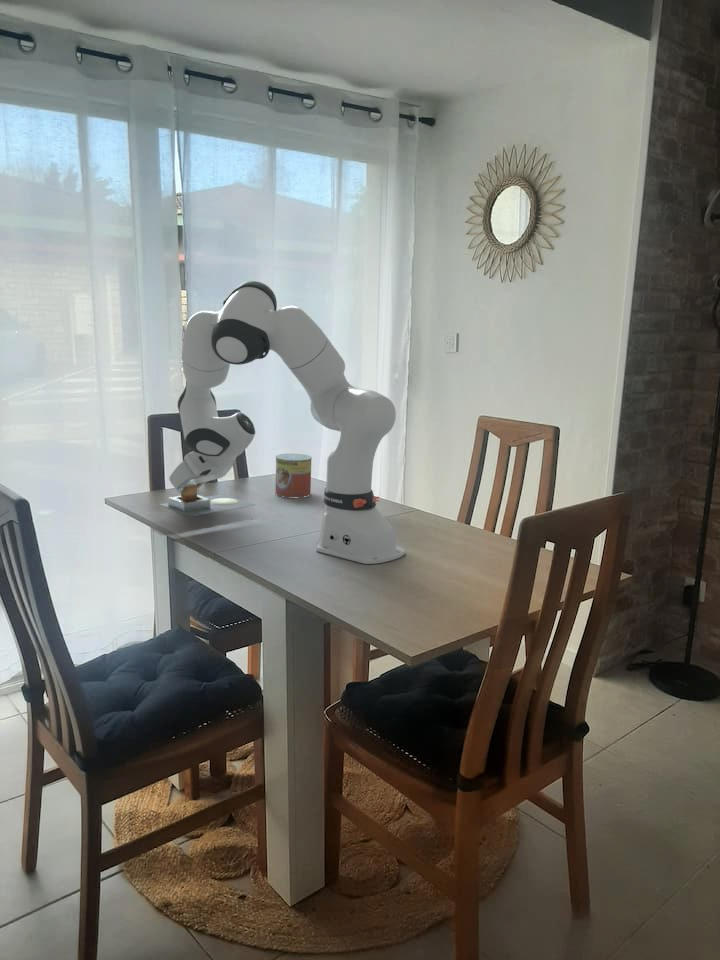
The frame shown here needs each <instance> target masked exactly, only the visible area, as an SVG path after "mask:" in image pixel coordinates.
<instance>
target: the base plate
mask: <svg viewBox="0 0 720 960" xmlns="http://www.w3.org/2000/svg"><path fill="white" fill-rule="evenodd" d="M204 497H205V498H208V499H210V508H205V509H199V510H193V511H187V512H183V511H180V510H178V509H175V508H173V507H170V506H168V502H166V503H160V504H159V505H160V506H161V507H165V508H167V509H169V510H172V511H174V512H177V513H179V514H182V515H184V516H187V517H190V518H191V517H196V516H201V515H206V514H213V513H218V512H223V511H231V510H235V509H241V508H246V507H251V506H253V507H254V506H256V504H254V503H253V502H248V501H246V500H243V499H239V498H237V497H234V496H231V495H228V494H226V493H222V494H217V495H216V494H215V495H209V496H208V495H207V496H204Z"/></svg>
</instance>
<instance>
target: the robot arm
mask: <svg viewBox="0 0 720 960" xmlns="http://www.w3.org/2000/svg"><path fill="white" fill-rule="evenodd" d="M222 304H223V305H222V306H223V307H222V308H221V309H220V310H219V311H215V312H214V311H210V310H201V311H198V312H196V313H195V314H193V315H192V316H190V318H189V319H188V320H187V323H186V326H185V329H184V330H185V331H184V335H183V339H182V351H181V358H182V359H181V363H182V371H183V375H184V378H185V381H186V382H185V387H184V390H183V392H182V393H181V395H180V396H179V398H178V400H177V408H178V409H177V410H178V413H179V417H180V421H181V427H182V433H183V438H184V443H185V446H186V447H187V448H188V449H189V450H190V451H191V452H188V453H187V454H185V456H184V457H183V459H184V460H183V461H182V462H180V463H179V464H178V465H177V466H176V467H175V469H174V470H173V471H172V473H171V474H170V476H169V481H170V484H171V485H172V486H173V487H174V489H175V490H176V492H177V493H179V494H181V492H184V490H185V489H186V488H185V487H186V486H190V485H195V484H197V489H200V488H201V487H202V486H203V485H205V484H206V483H208V482H210V481H214V480H218V479H223V477H225V476H226V475H227V474H228V473H229V472H230V471H231V470H232V468H233V466H234V462H235V460H236V459H237V457H238V456H241V454H242V453H244V451H245V450H246V449H248V447H249V446H250V444H251V443H252V441H253V440H254V438H255V435H256V429H255V426H254V423H253V422H252V420H251V419H250V418H249V416H247V414H245V413H244V412H243V413H242V412H239V411H237V412H236V413H234V414H232V415H230V416H222V417H219V414H218V410H217V409H218V408H217V402H216V397H215V395H214V393H213V391H212V390H211V389H212V388H216V387H219V386H220V385H222V384H224V382H225V381H226V379H227V376H228V375H229V372H230V371H229V370H230V364H231V365H236V366H237V365H240V366H241V365H245V364H249V363H251V362H254V361H255V360H261V359H265V358H266V357H267V356H268V354H269V352H270V351H273V352H274V353H276V354H277V355H278V356H279V357H280V359H281V360H282V361H283V363H284V364H285V365H286V366H287V368H288V369H289V370H290V371H291V373H292V374H293V375H294V377H295V378H296V379H297V381H298V382H299V383H300V385H301V387H303V388H304V390H305V392H306V393H307V396H308V397H309V399H310V411H311V413H310V414H311V415H312V418H313V419H314V420H315V421H316V422H318V423H319V424H321V426H323V427H325V428H327V429H329V430H332V431H337V432H339V433H340V436H339V441H338V443H337V446H336V448H335V450H334V451H332V452H331V453H330V454H329V455H328V457H327V461H326V484H325V485H326V487H325V488H324V492H323V503H324V505H325V507H324V512H323V515H322V519H321V526H320V533H319V537H318V541H317V546H316V552H319V553H323V554H327V555H330V556H334V557H337V558H341V559H345V560H348V561H353V562H357V563H361V564H364V565H372V564H373V565H374V564H380V563H381V564H382V563H386V562H390V561H393V560H397V559H399V558H402V557H403V556H404V555H405V554H406V551H405V549H404V548H403V547H401V546H399V545H397V543H396V533H395V530H394V527H393V526H392V525H391V524H390V522H389V521H388V520H387V519H386V518H385V516H384V515H383V514H382V513H381V512H380V511H379V509H378V508H377V507H376V506H377V503H376V502H380V499H379V498H380V496H375V495H374V491H373V490H372V483H373V482H372V481H373V469H374V459H375V456H376V452H377V449H378V447H379V445H380V443H381V441H382V439H383V438H384V437H386V435H388V433H390V432H391V430H392V429H393V427H394V425H395V422H396V417H397V411H396V407H395V405H394V403H393V402H392V400H390V398H389V397H386V396H385V395H383V394H381V393H379V392H377V391H374V390H368V389H361V388H358V387H355V386H354V385H351V383H349V381H348V380H347V378H346V376H345V370H346V363H345V360H344V359H343V357H342V356H341V355H340V353H339V352H338V351H337V349H336V348H335V346H334V345H333V343H332V342H331V340H330V339H329V338H328V337H327V335H326V334H325V332H324V331H323V330H322V328H321V327H319V326H318V323H316V322H315V321H314V320H313V319H312V317H311V316H309V315H308V314H307V313H306V312H305V311H304V310H303V309H302V308H300V307H298V306H295V305H289V306H288V305H287V306H285V307H281V308H280V309H277V305H278V304H277V297H276V294H275V293H274V291H273V290H272V289H271V287H269V285H267V284H265V283H264V282H262V281H257V280H247V281H245V282H243V283H240V285H238V286H237V287H236V288H234V289H233V291H232V292H231V293H229V295H228V296H227V297H226V298H225V300H224V301H223V302H222Z"/></svg>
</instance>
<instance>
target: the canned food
mask: <svg viewBox="0 0 720 960" xmlns="http://www.w3.org/2000/svg"><path fill="white" fill-rule="evenodd" d="M312 459H313V458H312V456H311V455H307V454H302V453H282V454H276V456H275V493H276V494H277V495H279V496H284V497H304V496H308V495H310V493H311V486H312V485H311V484H312ZM275 493H274V494H275ZM277 495H276V496H277ZM279 496H278V497H279ZM310 496H311V495H310ZM284 497H283V498H284ZM308 497H309V496H308Z"/></svg>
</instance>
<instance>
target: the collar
mask: <svg viewBox="0 0 720 960" xmlns="http://www.w3.org/2000/svg"><path fill="white" fill-rule="evenodd" d="M205 497H206V496H203V495H200V494H197V500H193V501H187V502H185V501H183V500H181V495H175V496H169V497H168V498H167V500H168V501H167V503H168V506H170V507H173V508H175V509H178V510H180V511H183V512H187V511H193V510H199V509H205V508H210V499H208V498H205Z"/></svg>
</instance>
